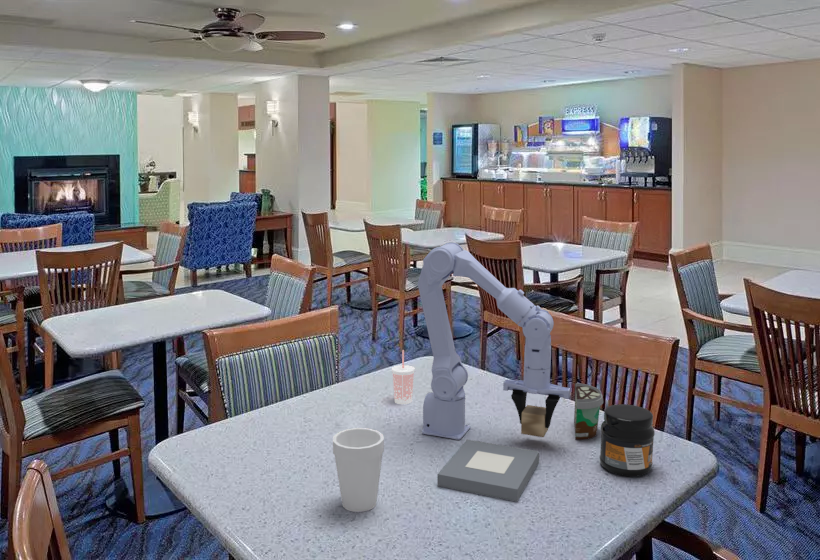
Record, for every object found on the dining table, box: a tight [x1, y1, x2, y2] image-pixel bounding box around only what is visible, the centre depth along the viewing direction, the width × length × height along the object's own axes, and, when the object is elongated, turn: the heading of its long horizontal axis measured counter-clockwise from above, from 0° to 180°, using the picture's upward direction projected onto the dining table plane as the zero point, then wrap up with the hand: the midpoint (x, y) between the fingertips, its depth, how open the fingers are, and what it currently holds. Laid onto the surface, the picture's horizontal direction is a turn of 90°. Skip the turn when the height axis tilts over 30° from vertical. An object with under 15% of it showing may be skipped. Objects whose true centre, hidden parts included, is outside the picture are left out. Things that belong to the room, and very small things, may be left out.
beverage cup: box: [391, 349, 416, 406], centre depth 180 cm, size 6×6×14 cm
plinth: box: [436, 439, 540, 502], centre depth 140 cm, size 16×18×3 cm
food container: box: [573, 382, 604, 441], centre depth 160 cm, size 12×6×10 cm, turn 168°
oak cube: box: [520, 404, 549, 438], centre depth 154 cm, size 5×5×5 cm
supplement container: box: [599, 403, 655, 477], centre depth 142 cm, size 10×10×12 cm
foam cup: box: [332, 427, 385, 513], centre depth 128 cm, size 10×9×13 cm
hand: (535, 424), depth 154 cm, fingers closed on oak cube, 5 cm apart
